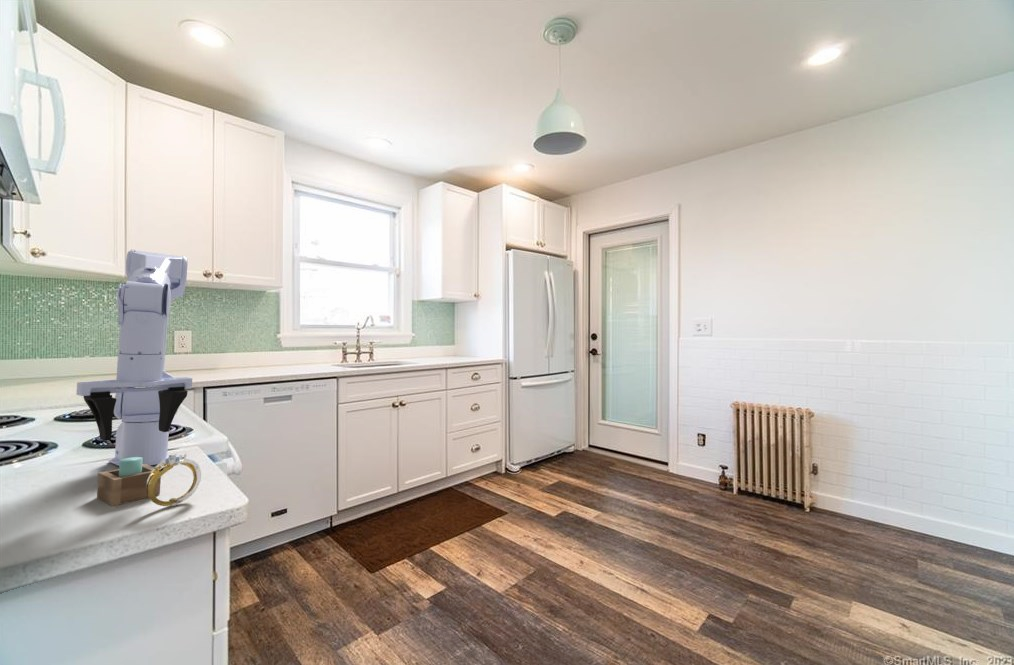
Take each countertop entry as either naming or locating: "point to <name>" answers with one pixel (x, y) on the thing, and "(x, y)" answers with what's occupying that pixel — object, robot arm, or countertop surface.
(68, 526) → the countertop surface
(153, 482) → the ring
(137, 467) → the teal cylinder
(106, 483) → the bead block
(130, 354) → the robot arm
